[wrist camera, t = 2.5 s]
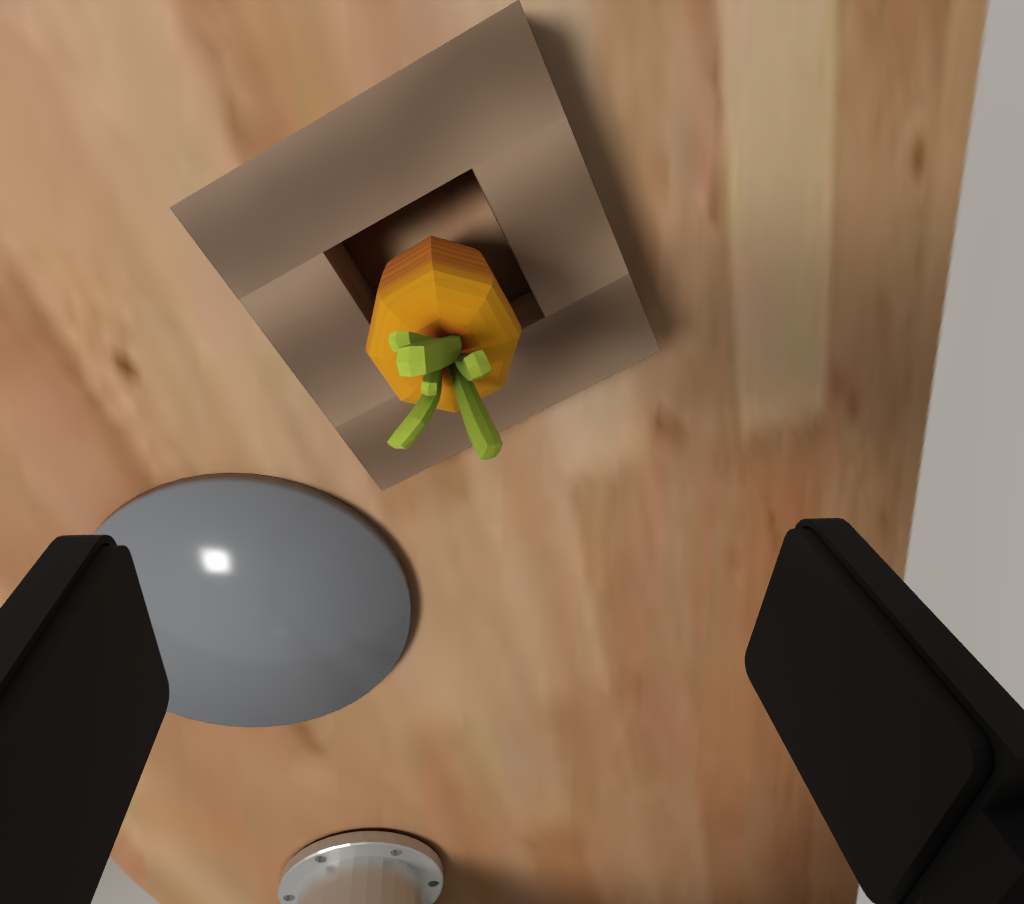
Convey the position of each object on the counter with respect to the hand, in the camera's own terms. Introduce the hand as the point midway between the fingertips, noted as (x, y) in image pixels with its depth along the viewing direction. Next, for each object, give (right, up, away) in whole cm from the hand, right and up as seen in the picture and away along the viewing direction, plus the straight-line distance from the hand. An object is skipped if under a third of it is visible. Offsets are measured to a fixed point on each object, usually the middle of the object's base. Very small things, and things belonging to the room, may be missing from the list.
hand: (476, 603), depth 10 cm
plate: (-14, -7, +28) cm, 32 cm away
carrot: (-3, +11, +20) cm, 23 cm away
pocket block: (-3, +11, +20) cm, 23 cm away
